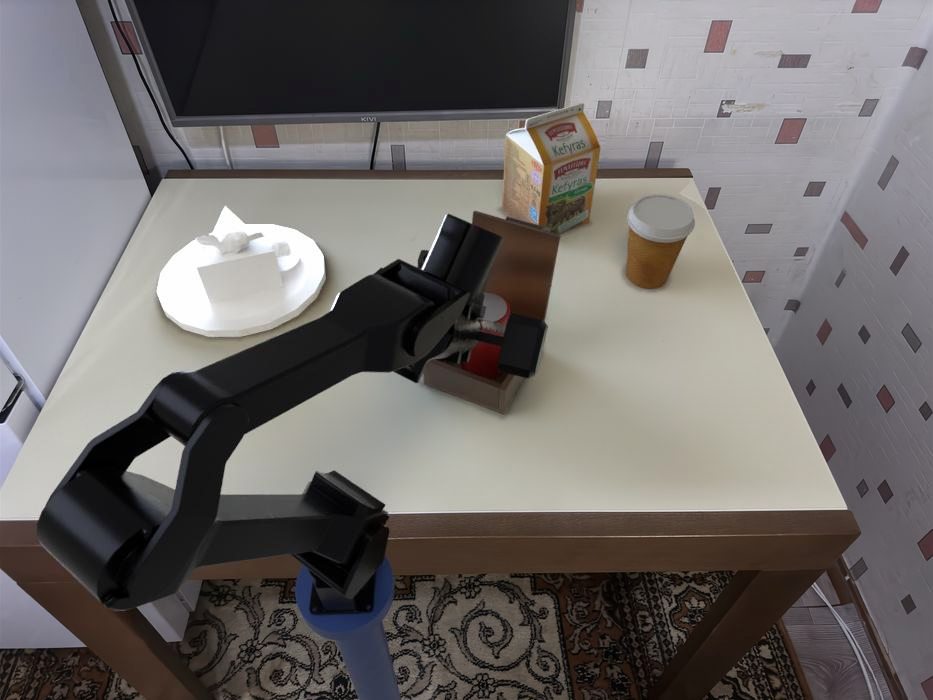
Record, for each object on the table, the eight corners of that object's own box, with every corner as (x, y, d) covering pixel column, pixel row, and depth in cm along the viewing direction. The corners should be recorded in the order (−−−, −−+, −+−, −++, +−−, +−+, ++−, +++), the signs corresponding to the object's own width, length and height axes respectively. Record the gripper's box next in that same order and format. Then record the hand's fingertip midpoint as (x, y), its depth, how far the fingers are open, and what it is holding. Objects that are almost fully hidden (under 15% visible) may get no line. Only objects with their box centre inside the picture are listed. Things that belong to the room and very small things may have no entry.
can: (508, 379, 89) (512, 324, 81) (461, 380, 89) (460, 325, 81) (505, 345, 93) (508, 289, 85) (460, 346, 93) (459, 290, 85)
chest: (503, 414, 86) (505, 390, 82) (423, 384, 89) (422, 359, 86) (541, 350, 93) (543, 325, 90) (466, 323, 97) (466, 299, 93)
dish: (342, 312, 99) (330, 251, 90) (163, 355, 93) (134, 294, 85) (309, 218, 114) (297, 159, 106) (155, 249, 109) (130, 189, 100)
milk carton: (536, 242, 110) (546, 135, 96) (502, 209, 116) (506, 104, 102) (588, 222, 113) (605, 117, 100) (552, 191, 120) (563, 88, 106)
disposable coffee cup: (691, 280, 103) (711, 216, 94) (646, 305, 100) (663, 240, 91) (646, 248, 109) (662, 184, 100) (602, 270, 105) (614, 206, 96)
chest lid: (559, 237, 81) (570, 222, 85) (472, 212, 85) (487, 199, 88) (543, 324, 89) (554, 308, 93) (465, 298, 93) (478, 284, 96)
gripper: (552, 265, 62) (566, 280, 77) (365, 227, 66) (414, 248, 81) (524, 383, 62) (544, 375, 78) (341, 338, 66) (394, 339, 82)
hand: (472, 331), depth 79 cm, fingers open, 9 cm apart
